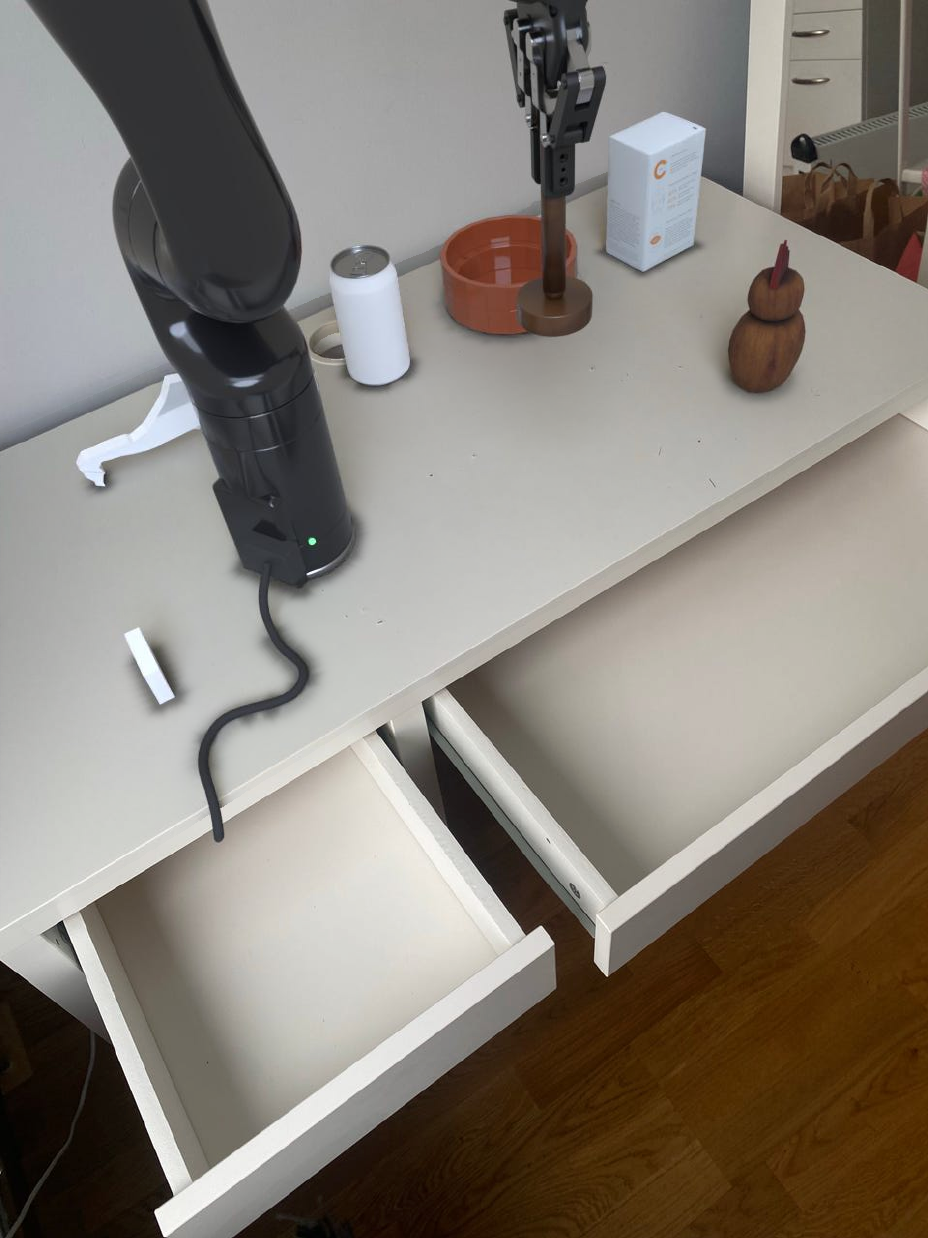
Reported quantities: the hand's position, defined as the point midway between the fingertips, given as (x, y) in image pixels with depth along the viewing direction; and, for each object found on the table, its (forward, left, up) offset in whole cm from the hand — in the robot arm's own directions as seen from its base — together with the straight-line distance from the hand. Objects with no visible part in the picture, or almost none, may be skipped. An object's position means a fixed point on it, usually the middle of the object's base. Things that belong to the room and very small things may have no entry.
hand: (552, 186), depth 67 cm
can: (+5, +22, -25) cm, 34 cm away
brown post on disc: (0, 0, -10) cm, 10 cm away
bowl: (+21, +15, -25) cm, 36 cm away
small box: (+36, +5, -25) cm, 44 cm away
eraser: (-36, +17, -25) cm, 47 cm away
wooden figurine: (+17, -14, -25) cm, 33 cm away
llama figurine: (-13, +33, -25) cm, 44 cm away
